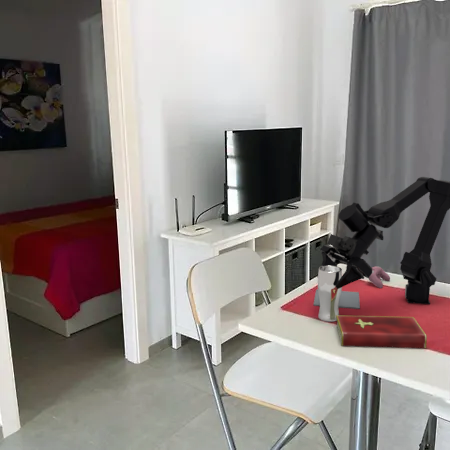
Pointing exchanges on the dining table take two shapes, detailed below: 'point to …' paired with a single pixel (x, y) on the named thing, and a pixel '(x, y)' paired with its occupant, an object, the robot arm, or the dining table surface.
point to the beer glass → (329, 292)
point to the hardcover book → (380, 331)
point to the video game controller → (378, 276)
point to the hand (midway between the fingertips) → (327, 282)
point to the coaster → (343, 300)
